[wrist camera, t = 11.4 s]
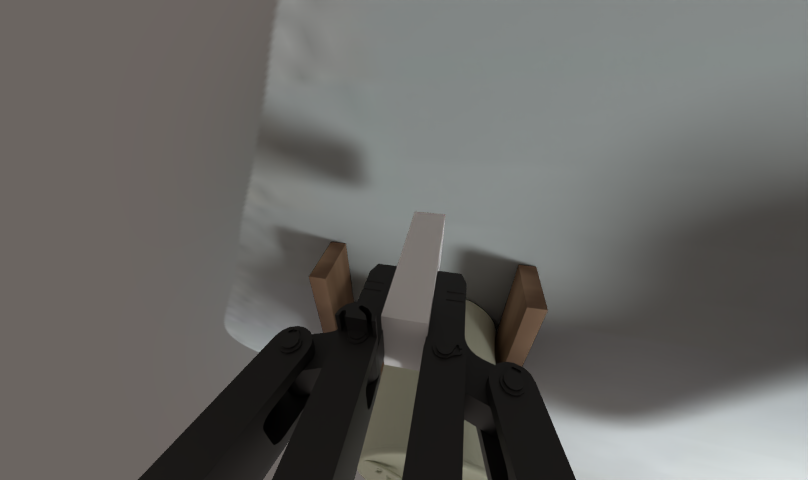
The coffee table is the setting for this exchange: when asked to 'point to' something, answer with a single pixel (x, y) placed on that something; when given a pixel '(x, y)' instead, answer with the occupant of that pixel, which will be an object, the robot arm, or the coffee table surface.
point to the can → (396, 407)
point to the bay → (513, 330)
